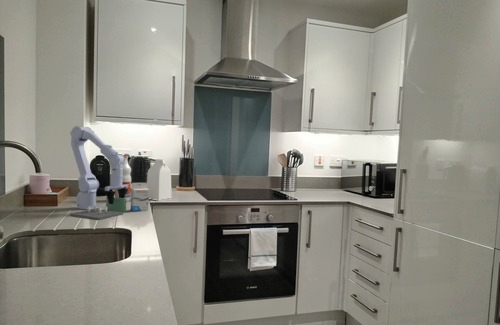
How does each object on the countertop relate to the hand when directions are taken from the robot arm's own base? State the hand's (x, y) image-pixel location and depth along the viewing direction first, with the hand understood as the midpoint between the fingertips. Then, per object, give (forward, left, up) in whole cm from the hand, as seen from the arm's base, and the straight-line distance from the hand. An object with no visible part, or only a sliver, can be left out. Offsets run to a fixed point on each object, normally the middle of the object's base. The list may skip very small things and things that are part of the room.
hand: (116, 203), depth 194 cm
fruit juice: (-20, +28, -4) cm, 35 cm away
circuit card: (0, 0, -4) cm, 4 cm away
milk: (-7, +47, -4) cm, 48 cm away
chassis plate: (+1, -14, -4) cm, 15 cm away
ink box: (+9, +8, -4) cm, 13 cm away
